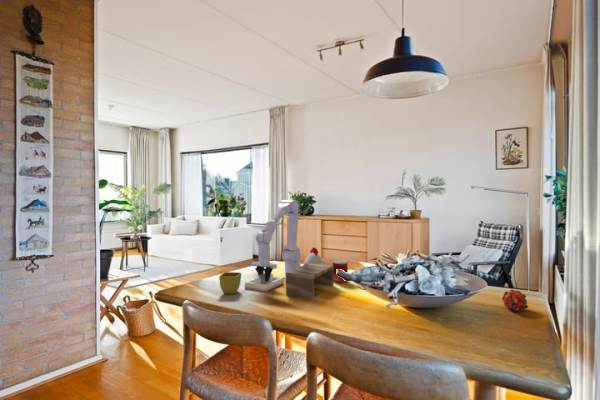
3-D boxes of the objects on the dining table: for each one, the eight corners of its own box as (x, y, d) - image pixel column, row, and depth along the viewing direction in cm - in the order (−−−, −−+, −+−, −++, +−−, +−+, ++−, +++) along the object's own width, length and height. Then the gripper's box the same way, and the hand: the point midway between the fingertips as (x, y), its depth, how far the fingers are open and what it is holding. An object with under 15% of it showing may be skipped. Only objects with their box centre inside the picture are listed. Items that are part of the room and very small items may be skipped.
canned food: (348, 283, 179) (348, 262, 178) (333, 283, 179) (333, 262, 179) (346, 279, 186) (346, 259, 186) (332, 279, 187) (332, 259, 186)
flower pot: (242, 290, 169) (241, 272, 169) (237, 295, 160) (236, 276, 160) (224, 289, 170) (224, 272, 170) (219, 295, 161) (218, 276, 161)
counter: (309, 282, 182) (309, 263, 181) (333, 285, 175) (333, 265, 175) (286, 294, 161) (285, 272, 160) (312, 299, 154) (312, 275, 154)
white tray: (263, 280, 186) (262, 269, 186) (283, 283, 180) (283, 272, 180) (244, 288, 172) (244, 276, 172) (266, 291, 166) (265, 279, 166)
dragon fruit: (516, 309, 142) (516, 322, 132) (497, 295, 145) (496, 307, 135) (531, 295, 138) (532, 308, 128) (511, 281, 141) (511, 293, 131)
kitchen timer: (310, 276, 195) (309, 250, 195) (298, 271, 207) (298, 247, 207) (330, 273, 202) (330, 248, 202) (318, 268, 214) (317, 245, 214)
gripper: (247, 255, 176) (248, 281, 176) (271, 257, 169) (271, 284, 169) (256, 252, 182) (256, 278, 182) (279, 255, 175) (279, 281, 175)
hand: (264, 281), depth 176 cm, fingers closed on white tray, 3 cm apart
